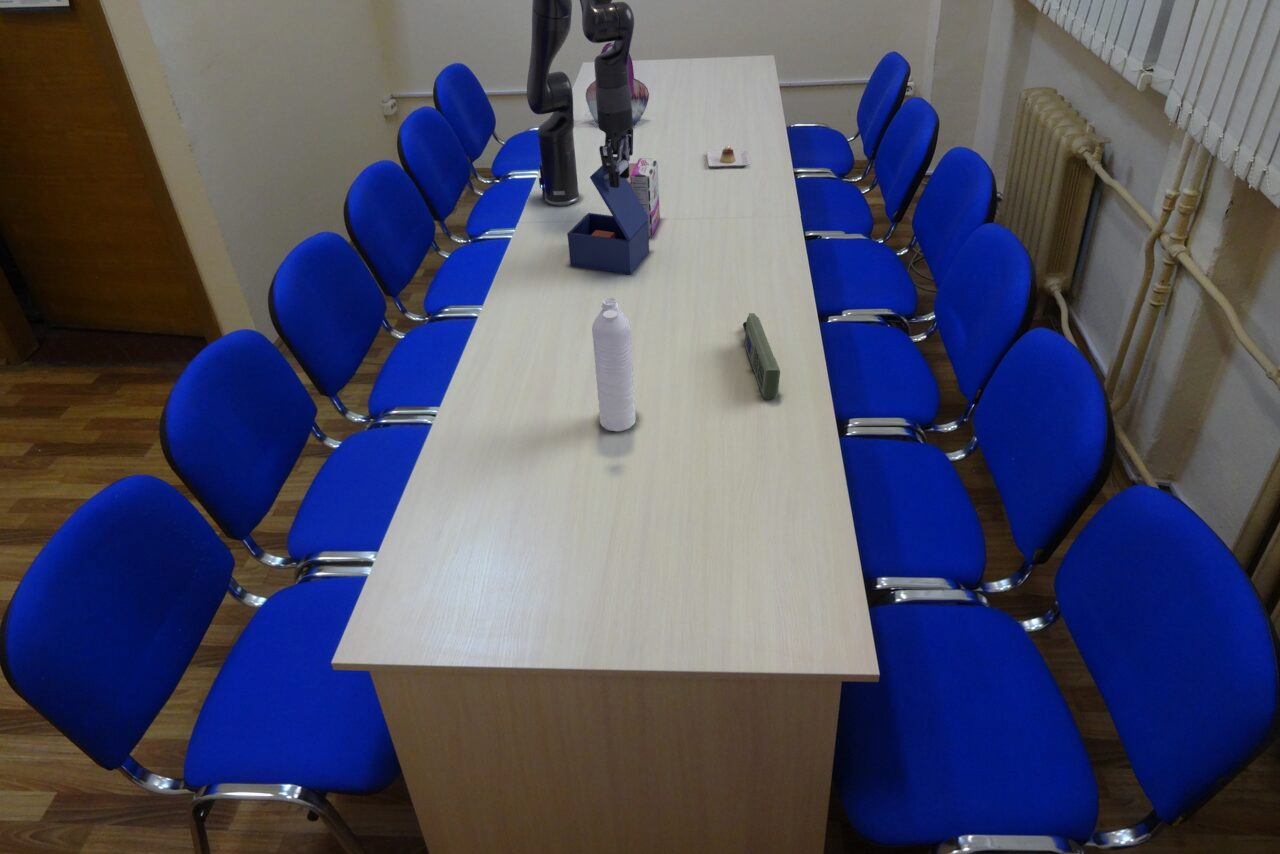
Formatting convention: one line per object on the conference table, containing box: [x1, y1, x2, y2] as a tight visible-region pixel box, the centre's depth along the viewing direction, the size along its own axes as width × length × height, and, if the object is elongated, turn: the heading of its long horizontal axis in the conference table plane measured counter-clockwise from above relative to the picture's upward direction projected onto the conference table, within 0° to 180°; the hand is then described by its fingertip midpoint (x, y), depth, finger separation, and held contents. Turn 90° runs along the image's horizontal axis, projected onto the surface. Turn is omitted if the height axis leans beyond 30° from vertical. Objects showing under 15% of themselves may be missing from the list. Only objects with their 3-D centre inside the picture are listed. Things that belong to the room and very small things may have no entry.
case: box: [566, 212, 650, 275], centre depth 204 cm, size 16×12×8 cm
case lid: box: [589, 155, 649, 240], centre depth 194 cm, size 16×12×5 cm
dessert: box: [706, 144, 751, 168], centre depth 252 cm, size 12×12×5 cm
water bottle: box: [591, 297, 636, 432], centre depth 147 cm, size 9×6×25 cm
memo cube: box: [591, 230, 615, 239], centre depth 205 cm, size 5×5×5 cm
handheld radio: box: [742, 312, 781, 401], centre depth 167 cm, size 7×3×25 cm
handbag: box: [585, 41, 650, 127], centre depth 276 cm, size 21×10×25 cm, turn 85°
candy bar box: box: [630, 157, 661, 239], centre depth 214 cm, size 11×5×16 cm, turn 168°
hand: (619, 181), depth 193 cm, fingers closed on case lid, 5 cm apart
